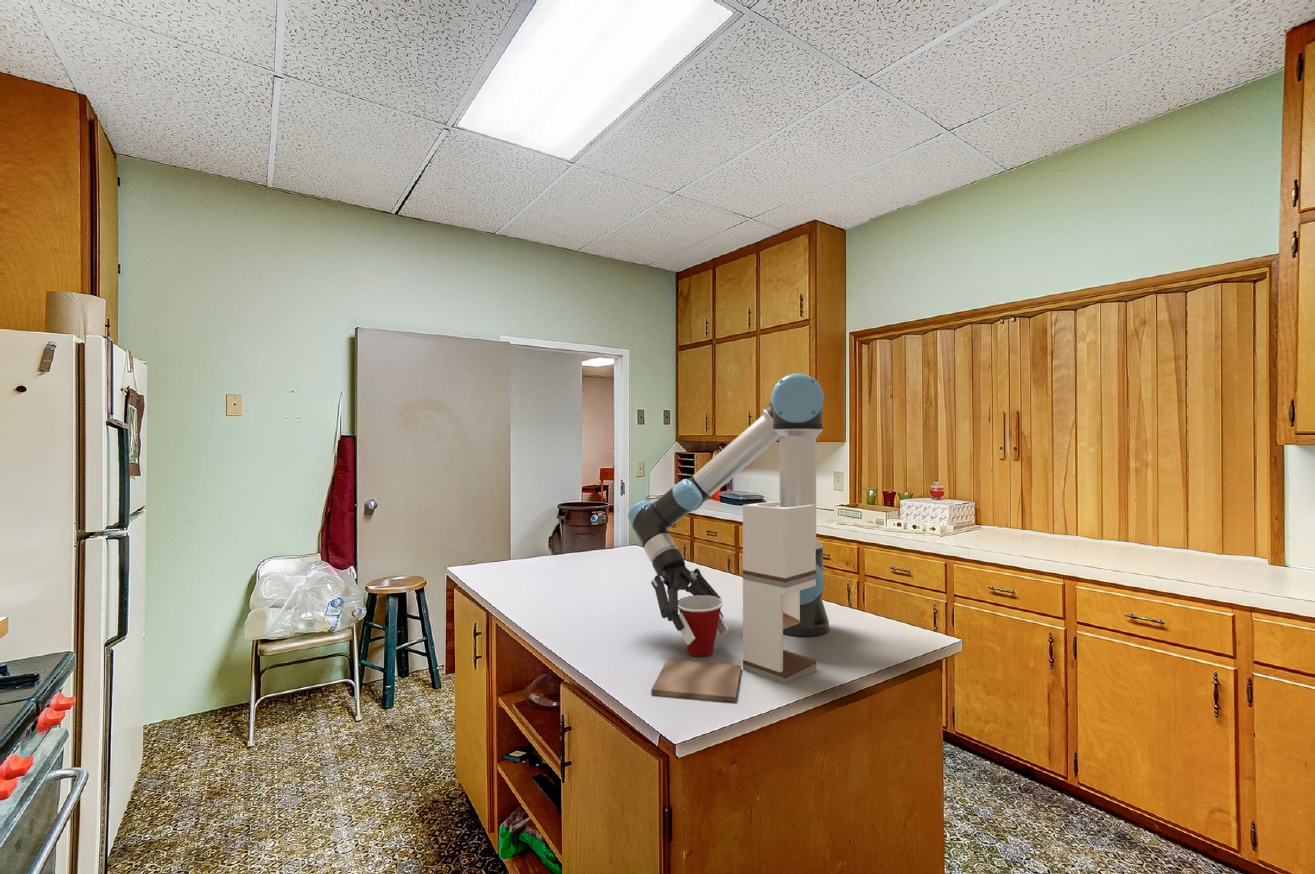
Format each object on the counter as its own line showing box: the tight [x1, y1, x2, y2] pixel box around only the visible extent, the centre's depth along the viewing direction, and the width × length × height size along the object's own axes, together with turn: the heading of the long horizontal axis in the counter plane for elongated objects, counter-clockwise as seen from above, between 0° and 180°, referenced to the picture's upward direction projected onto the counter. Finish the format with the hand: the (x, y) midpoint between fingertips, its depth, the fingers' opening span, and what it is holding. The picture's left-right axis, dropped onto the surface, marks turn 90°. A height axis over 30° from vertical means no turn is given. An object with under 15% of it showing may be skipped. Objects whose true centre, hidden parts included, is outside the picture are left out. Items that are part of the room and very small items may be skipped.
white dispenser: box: [742, 501, 817, 685], centre depth 123 cm, size 11×11×35 cm
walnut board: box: [650, 658, 742, 703], centre depth 117 cm, size 16×16×1 cm
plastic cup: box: [678, 595, 724, 658], centre depth 133 cm, size 11×11×12 cm
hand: (708, 637), depth 130 cm, fingers closed on plastic cup, 10 cm apart
